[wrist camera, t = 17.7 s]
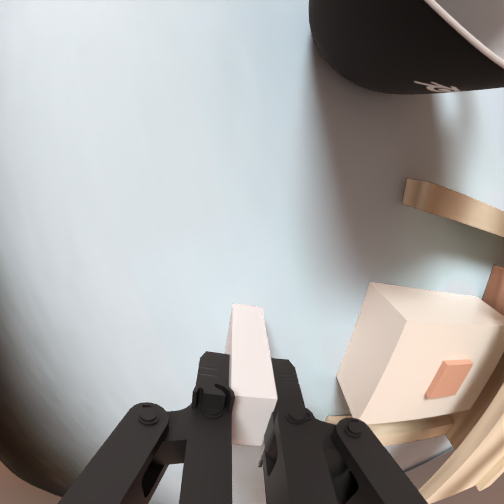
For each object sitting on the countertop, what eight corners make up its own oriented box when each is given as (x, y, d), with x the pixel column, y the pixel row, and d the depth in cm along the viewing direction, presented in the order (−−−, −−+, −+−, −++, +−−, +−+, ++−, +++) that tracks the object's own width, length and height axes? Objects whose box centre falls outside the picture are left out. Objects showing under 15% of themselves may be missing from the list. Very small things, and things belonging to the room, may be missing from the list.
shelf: (321, 428, 20) (350, 534, 11) (407, 178, 15) (549, 210, 6) (445, 415, 22) (489, 485, 12) (527, 226, 16) (618, 265, 7)
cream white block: (335, 373, 19) (358, 431, 14) (368, 280, 17) (411, 325, 12) (440, 372, 20) (472, 413, 15) (475, 295, 18) (520, 329, 13)
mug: (344, 137, 14) (480, 118, 5) (257, 4, 12) (275, -129, 2) (478, 75, 13) (590, 57, 3) (409, -33, 11) (488, -98, 1)
